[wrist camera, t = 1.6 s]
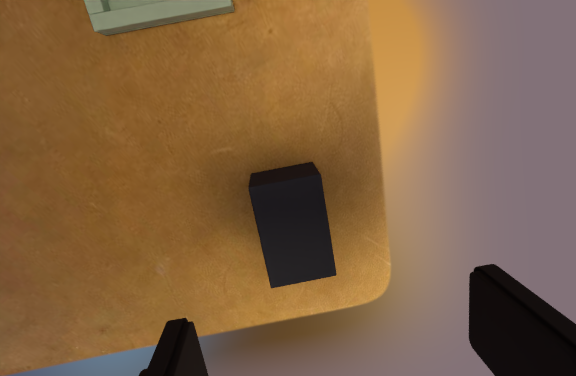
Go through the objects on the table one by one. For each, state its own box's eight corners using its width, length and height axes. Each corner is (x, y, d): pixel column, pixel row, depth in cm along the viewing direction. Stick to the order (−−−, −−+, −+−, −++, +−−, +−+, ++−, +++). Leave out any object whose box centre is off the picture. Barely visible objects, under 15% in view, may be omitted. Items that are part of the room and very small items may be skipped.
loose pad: (250, 173, 26) (248, 187, 22) (312, 161, 26) (320, 173, 22) (270, 262, 28) (271, 288, 25) (327, 250, 28) (336, 275, 25)
